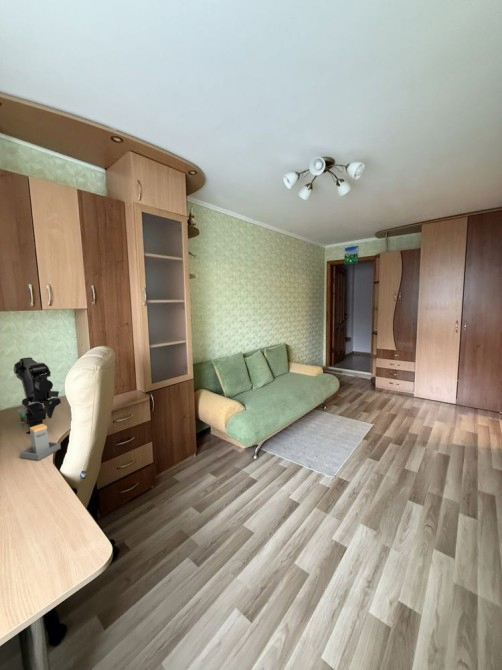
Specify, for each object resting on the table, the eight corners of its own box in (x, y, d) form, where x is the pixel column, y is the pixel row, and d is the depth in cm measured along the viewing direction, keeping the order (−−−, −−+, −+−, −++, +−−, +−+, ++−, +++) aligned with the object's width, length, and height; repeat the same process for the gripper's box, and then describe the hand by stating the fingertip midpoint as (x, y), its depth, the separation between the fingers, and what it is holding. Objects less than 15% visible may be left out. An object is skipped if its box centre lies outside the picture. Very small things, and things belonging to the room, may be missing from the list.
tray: (20, 458, 122) (20, 452, 122) (43, 446, 133) (42, 440, 132) (38, 461, 120) (38, 455, 120) (60, 448, 130) (60, 443, 130)
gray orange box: (32, 453, 126) (29, 427, 124) (45, 448, 130) (42, 423, 128) (37, 456, 122) (34, 430, 121) (50, 451, 126) (47, 426, 125)
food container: (27, 426, 155) (25, 409, 154) (19, 425, 156) (17, 409, 155) (47, 417, 167) (45, 402, 166) (39, 416, 168) (37, 401, 167)
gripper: (68, 384, 142) (71, 412, 144) (41, 382, 146) (44, 410, 148) (48, 391, 131) (51, 421, 133) (19, 389, 135) (23, 418, 137)
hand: (43, 417), depth 138 cm, fingers open, 9 cm apart
